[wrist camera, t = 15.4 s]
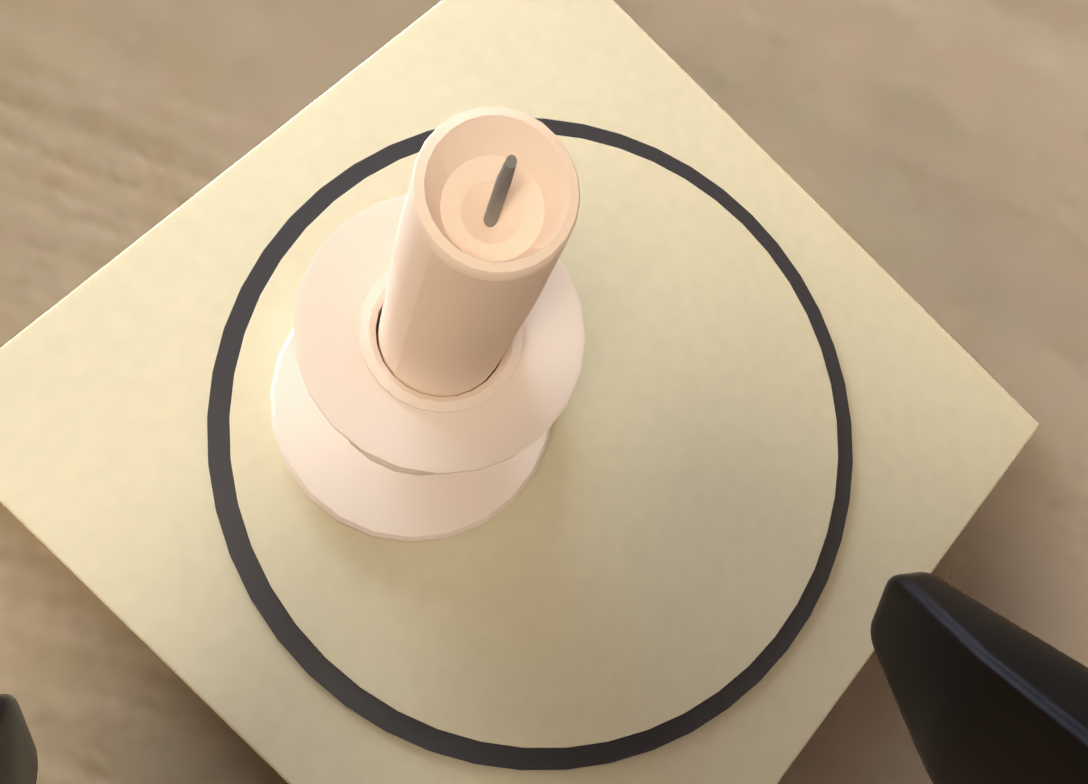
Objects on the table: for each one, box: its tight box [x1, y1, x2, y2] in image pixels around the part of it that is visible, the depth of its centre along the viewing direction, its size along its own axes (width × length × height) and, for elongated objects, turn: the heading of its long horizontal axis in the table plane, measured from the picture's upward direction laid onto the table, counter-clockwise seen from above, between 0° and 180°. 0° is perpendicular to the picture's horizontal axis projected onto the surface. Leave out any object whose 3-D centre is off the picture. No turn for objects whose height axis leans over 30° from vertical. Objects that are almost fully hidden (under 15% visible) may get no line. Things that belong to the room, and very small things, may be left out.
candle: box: [270, 107, 585, 543], centre depth 12 cm, size 5×5×10 cm
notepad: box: [0, 0, 1039, 784], centre depth 18 cm, size 16×16×1 cm
